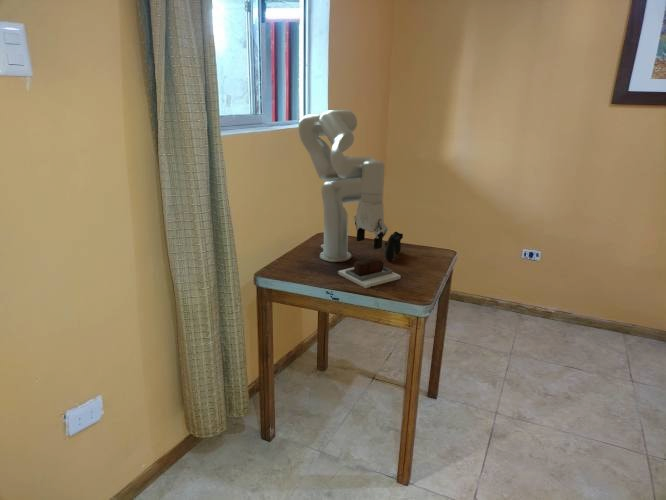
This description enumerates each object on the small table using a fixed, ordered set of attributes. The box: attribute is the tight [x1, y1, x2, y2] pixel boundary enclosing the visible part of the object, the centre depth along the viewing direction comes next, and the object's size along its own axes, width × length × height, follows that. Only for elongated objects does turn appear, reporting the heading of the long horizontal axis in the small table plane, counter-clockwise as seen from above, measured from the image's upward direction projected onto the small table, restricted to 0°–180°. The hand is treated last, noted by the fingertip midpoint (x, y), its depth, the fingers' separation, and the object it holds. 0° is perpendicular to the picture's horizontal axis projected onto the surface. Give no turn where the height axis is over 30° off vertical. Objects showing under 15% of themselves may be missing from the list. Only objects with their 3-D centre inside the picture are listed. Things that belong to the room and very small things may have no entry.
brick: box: [353, 257, 385, 276], centre depth 165 cm, size 11×4×5 cm, turn 124°
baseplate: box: [337, 266, 401, 289], centre depth 165 cm, size 16×16×2 cm
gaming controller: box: [384, 231, 404, 262], centre depth 186 cm, size 14×6×10 cm, turn 157°
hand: (368, 244), depth 163 cm, fingers open, 9 cm apart
